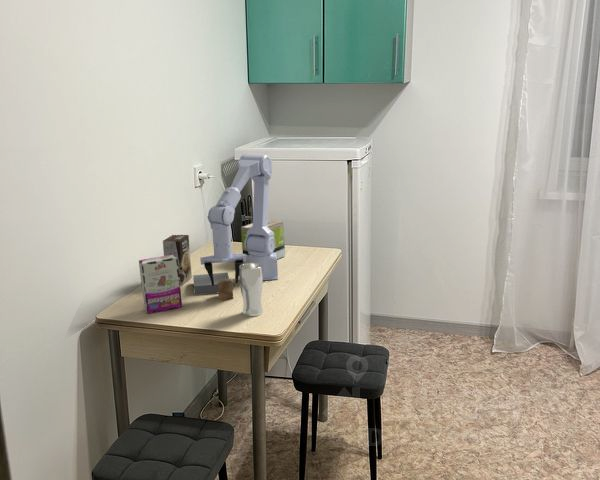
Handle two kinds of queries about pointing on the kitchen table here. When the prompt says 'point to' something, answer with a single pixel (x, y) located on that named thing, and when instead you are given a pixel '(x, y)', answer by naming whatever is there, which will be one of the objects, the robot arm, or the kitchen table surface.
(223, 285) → the walnut block
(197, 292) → the slate base
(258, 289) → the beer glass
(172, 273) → the candy bar box
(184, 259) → the coffee box
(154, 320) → the kitchen table surface
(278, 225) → the tea box
